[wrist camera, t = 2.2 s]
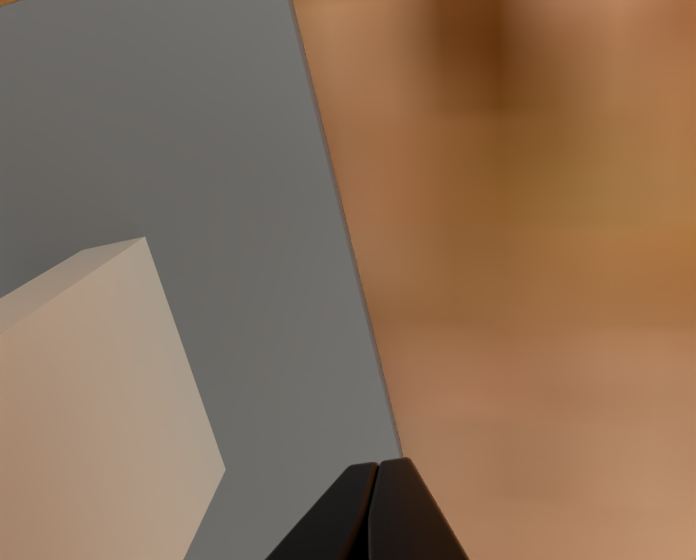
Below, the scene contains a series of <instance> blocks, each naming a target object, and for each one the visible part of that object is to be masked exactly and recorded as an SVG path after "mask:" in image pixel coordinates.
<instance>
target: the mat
mask: <svg viewBox="0 0 696 560" xmlns="http://www.w3.org/2000/svg"><path fill="white" fill-rule="evenodd" d="M141 237H145V238H146V241H147V244H148V247H149V250H150V253H151V255H152V258H153V261H154V264H155V267H156V270H157V273H158V276H159V279H160V281H161V284H162V287H163V290H164V293H165V296H166V299H167V302H168V304H169V307H170V310H171V313H172V316H173V319H174V322H175V325H176V328H177V330H178V333H179V336H180V339H181V342H182V345H183V348H184V351H185V353H186V356H187V359H188V362H189V365H190V368H191V371H192V374H193V377H194V379H195V382H196V385H197V388H198V391H199V394H200V397H201V400H202V403H203V405H204V408H205V411H206V414H207V417H208V420H209V423H210V426H211V428H212V431H213V434H214V437H215V440H216V443H217V446H218V449H219V452H220V454H221V457H222V460H223V463H224V466H225V469H226V470H225V472H224V474H223V476H222V479H221V481H220V483H219V485H218V487H217V489H216V491H215V493H214V496H213V498H212V500H211V502H210V504H209V506H208V508H207V510H206V513H205V515H204V517H203V519H202V521H201V523H200V525H199V527H198V530H197V532H196V534H195V536H194V538H193V540H192V542H191V544H190V547H189V549H188V551H187V553H186V555H185V557H184V559H183V560H264V559H265V558H266V557H267V556H268V555H269V554H270V553H271V552H272V550H273V549H274V548H275V547H276V546H277V545H278V544H279V543H280V541H281V540H282V539H283V538H284V537H285V536H286V535H287V534H288V533H289V531H290V530H291V529H292V528H293V527H294V526H295V525H296V524H297V523H298V521H299V520H300V519H301V518H302V517H303V516H304V515H305V514H306V513H307V511H308V510H309V509H310V508H311V507H312V506H313V505H314V504H315V503H316V501H317V500H318V499H319V498H320V497H321V496H322V495H323V494H324V492H325V491H326V490H327V489H328V488H329V487H330V486H331V485H332V484H333V482H334V481H335V480H336V479H337V478H338V477H339V476H340V475H341V474H342V472H343V471H344V470H345V469H346V468H347V467H348V466H350V465H352V464H360V463H367V462H377V463H378V464H379V465H380V463H381V462H382V461H384V460H390V459H397V458H404V457H403V452H402V448H401V444H400V440H399V436H398V432H397V428H396V424H395V420H394V416H393V411H392V407H391V403H390V399H389V395H388V391H387V387H386V383H385V379H384V374H383V370H382V366H381V362H380V358H379V354H378V350H377V346H376V342H375V338H374V333H373V329H372V325H371V321H370V317H369V313H368V309H367V305H366V301H365V297H364V292H363V288H362V284H361V280H360V276H359V272H358V268H357V264H356V260H355V255H354V251H353V247H352V243H351V239H350V235H349V231H348V227H347V223H346V219H345V214H344V210H343V206H342V202H341V198H340V194H339V190H338V186H337V182H336V177H335V173H334V169H333V165H332V161H331V157H330V153H329V149H328V145H327V141H326V136H325V132H324V128H323V124H322V120H321V116H320V112H319V108H318V104H317V100H316V95H315V91H314V87H313V83H312V79H311V75H310V71H309V67H308V63H307V58H306V54H305V50H304V46H303V42H302V38H301V34H300V30H299V26H298V22H297V17H296V13H295V9H294V5H293V1H292V0H21V1H18V2H15V3H11V4H8V5H4V6H1V7H0V298H2V297H4V296H5V295H7V294H9V293H10V292H12V291H14V290H16V289H17V288H19V287H21V286H22V285H24V284H26V283H27V282H29V281H31V280H32V279H34V278H36V277H38V276H39V275H41V274H43V273H44V272H46V271H48V270H49V269H51V268H53V267H54V266H56V265H58V264H60V263H61V262H63V261H65V260H66V259H68V258H70V257H71V256H73V255H75V254H76V253H78V252H80V251H82V250H84V249H89V248H94V247H98V246H103V245H108V244H112V243H117V242H122V241H127V240H131V239H136V238H141Z"/></svg>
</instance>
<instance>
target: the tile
mask: <svg viewBox="0 0 696 560" xmlns="http://www.w3.org/2000/svg"><path fill="white" fill-rule="evenodd" d="M225 470H226V469H225V466H224V463H223V460H222V457H221V454H220V452H219V449H218V446H217V443H216V440H215V437H214V434H213V431H212V428H211V426H210V423H209V420H208V417H207V414H206V411H205V408H204V405H203V403H202V400H201V397H200V394H199V391H198V388H197V385H196V382H195V379H194V377H193V374H192V371H191V368H190V365H189V362H188V359H187V356H186V353H185V351H184V348H183V345H182V342H181V339H180V336H179V333H178V330H177V328H176V325H175V322H174V319H173V316H172V313H171V310H170V307H169V304H168V302H167V299H166V296H165V293H164V290H163V287H162V284H161V281H160V279H159V276H158V273H157V270H156V267H155V264H154V261H153V258H152V255H151V253H150V250H149V247H148V244H147V241H146V238H145V237H141V238H136V239H131V240H127V241H122V242H117V243H112V244H108V245H103V246H98V247H94V248H89V249H84V250H82V251H80V252H78V253H76V254H75V255H73V256H71V257H70V258H68V259H66V260H65V261H63V262H61V263H60V264H58V265H56V266H54V267H53V268H51V269H49V270H48V271H46V272H44V273H43V274H41V275H39V276H38V277H36V278H34V279H32V280H31V281H29V282H27V283H26V284H24V285H22V286H21V287H19V288H17V289H16V290H14V291H12V292H10V293H9V294H7V295H5V296H4V297H2V298H0V560H183V559H184V557H185V555H186V553H187V551H188V549H189V547H190V544H191V542H192V540H193V538H194V536H195V534H196V532H197V530H198V527H199V525H200V523H201V521H202V519H203V517H204V515H205V513H206V510H207V508H208V506H209V504H210V502H211V500H212V498H213V496H214V493H215V491H216V489H217V487H218V485H219V483H220V481H221V479H222V476H223V474H224V472H225Z"/></svg>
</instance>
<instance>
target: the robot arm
mask: <svg viewBox="0 0 696 560" xmlns="http://www.w3.org/2000/svg"><path fill="white" fill-rule="evenodd" d="M264 560H469V558H468V556H467V554H466V553H465V551H464V549H463V548H462V546H461V544H460V542H459V541H458V539H457V537H456V536H455V534H454V532H453V530H452V529H451V527H450V525H449V524H448V522H447V520H446V518H445V517H444V515H443V513H442V512H441V510H440V508H439V506H438V505H437V503H436V501H435V500H434V498H433V496H432V494H431V493H430V491H429V489H428V488H427V486H426V484H425V483H424V481H423V479H422V477H421V476H420V474H419V472H418V471H417V469H416V467H415V465H414V464H413V462H412V460H411V459H410V458H407V457H404V458H397V459H390V460H384V461H382V462H381V463H380V465H379V464H378V463H377V462H367V463H360V464H352V465H350V466H348V467H347V468H346V469H345V470H344V471H343V472H342V474H341V475H340V476H339V477H338V478H337V479H336V480H335V481H334V482H333V484H332V485H331V486H330V487H329V488H328V489H327V490H326V491H325V492H324V494H323V495H322V496H321V497H320V498H319V499H318V500H317V501H316V503H315V504H314V505H313V506H312V507H311V508H310V509H309V510H308V511H307V513H306V514H305V515H304V516H303V517H302V518H301V519H300V520H299V521H298V523H297V524H296V525H295V526H294V527H293V528H292V529H291V530H290V531H289V533H288V534H287V535H286V536H285V537H284V538H283V539H282V540H281V541H280V543H279V544H278V545H277V546H276V547H275V548H274V549H273V550H272V552H271V553H270V554H269V555H268V556H267V557H266V558H265V559H264Z"/></svg>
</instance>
